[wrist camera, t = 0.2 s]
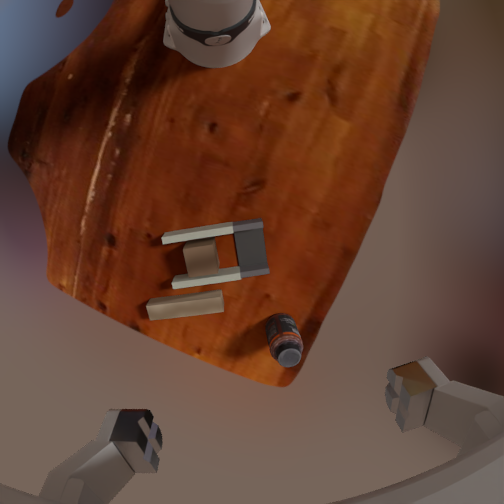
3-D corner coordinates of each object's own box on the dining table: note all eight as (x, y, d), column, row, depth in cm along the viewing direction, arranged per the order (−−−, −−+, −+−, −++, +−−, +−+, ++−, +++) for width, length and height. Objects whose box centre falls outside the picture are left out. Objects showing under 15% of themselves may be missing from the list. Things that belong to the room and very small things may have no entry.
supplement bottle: (263, 337, 62) (269, 371, 52) (266, 311, 61) (273, 343, 50) (292, 338, 63) (303, 372, 52) (297, 312, 61) (309, 344, 50)
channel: (165, 232, 55) (161, 237, 52) (261, 217, 55) (262, 221, 52) (176, 281, 58) (173, 289, 55) (267, 268, 58) (269, 275, 55)
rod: (150, 298, 59) (145, 306, 56) (221, 288, 59) (220, 296, 56) (154, 311, 60) (150, 320, 57) (224, 303, 60) (223, 311, 57)
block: (186, 241, 56) (182, 249, 51) (214, 236, 56) (212, 244, 51) (192, 267, 57) (188, 277, 53) (219, 263, 57) (218, 273, 53)
